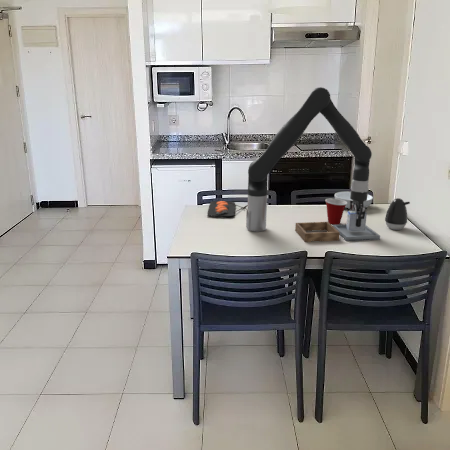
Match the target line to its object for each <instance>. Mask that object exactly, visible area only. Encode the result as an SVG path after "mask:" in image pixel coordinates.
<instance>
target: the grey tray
mask: <svg viewBox="0 0 450 450" xmlns="http://www.w3.org/2000/svg"><path fill="white" fill-rule="evenodd" d="M346 224H347V223H346ZM346 224H345V223H343V224H339V225H332V226H333V227H334V228H335V229H337V230H338V231H339V232H340V235H339V237H341V238H342V239H343V238H344V239H343V240H344V241H345V242H357V241H358V242H359V241H361V242H362V241H380V239H381V235H380V234H378V233H377V232H376V231H375V230H373V229H372V228H370V227H369V226H368V225H366V226H365V231H349V230H348V229H347V228H346Z"/></svg>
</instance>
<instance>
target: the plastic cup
mask: <svg viewBox="0 0 450 450" xmlns="http://www.w3.org/2000/svg"><path fill="white" fill-rule="evenodd" d="M325 204H326V214H327V222H329V223H330V224H332V226H333V225H341V220H342V217H343V214H344V212H345V206H346V204H347V202H346V201H344V200H340V199H335V198H334V197H333V198H325Z"/></svg>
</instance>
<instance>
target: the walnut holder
mask: <svg viewBox="0 0 450 450" xmlns="http://www.w3.org/2000/svg"><path fill="white" fill-rule="evenodd" d="M294 226H295V227H294V231H295V232H296V234H297V235H298V236H299V237H300V238H301V239H302V241H304V243H312V242H311V241H319V242H335V241H336V242H337V241H338V242H339V241H340V232H339V231H338V230H337V229H335V228H334V227H333V225H331V224H330V223H329V222H328V221H312V222H311V221H310V222H306V221H305V222H295V225H294ZM312 230H320V231H318V232H317V231H316V232H313V231H312ZM321 231H322V232H321ZM323 231H324V232H323ZM327 231H328V232H327Z"/></svg>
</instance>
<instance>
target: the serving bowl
mask: <svg viewBox="0 0 450 450" xmlns="http://www.w3.org/2000/svg"><path fill="white" fill-rule="evenodd" d="M350 195H351V191H338V192H336V193H334V199H340V200H344V201H346V202H347V204H346V206H345V208H346V209H347V208H348V210H350V200H351V199H350ZM373 199H374V197H373V195H370V194H368V195H367V200H366V201H364V202H363V203H364V207H366V208H367V207H369V206H370V205H371V204H372V202H373ZM345 208H344V209H345Z"/></svg>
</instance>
